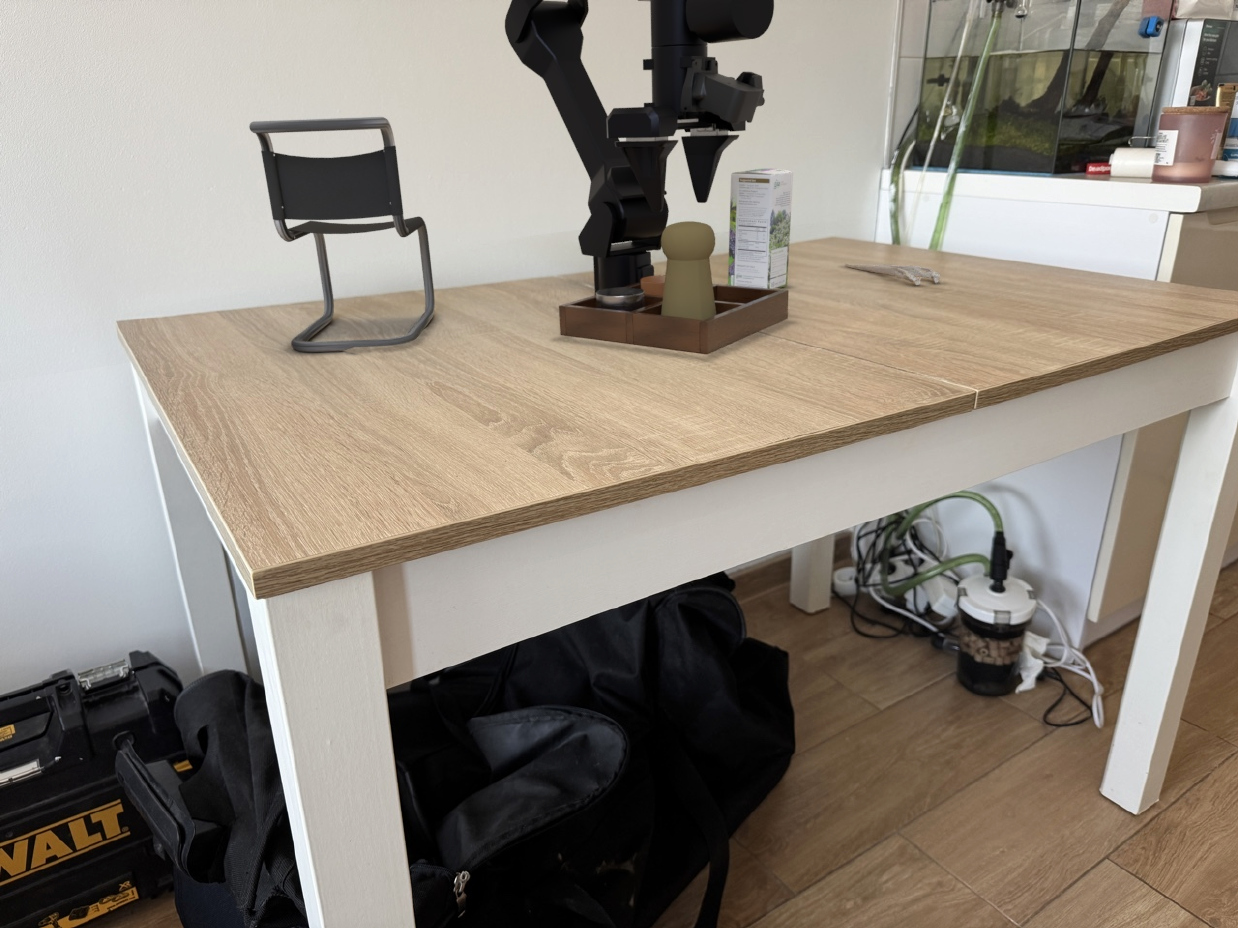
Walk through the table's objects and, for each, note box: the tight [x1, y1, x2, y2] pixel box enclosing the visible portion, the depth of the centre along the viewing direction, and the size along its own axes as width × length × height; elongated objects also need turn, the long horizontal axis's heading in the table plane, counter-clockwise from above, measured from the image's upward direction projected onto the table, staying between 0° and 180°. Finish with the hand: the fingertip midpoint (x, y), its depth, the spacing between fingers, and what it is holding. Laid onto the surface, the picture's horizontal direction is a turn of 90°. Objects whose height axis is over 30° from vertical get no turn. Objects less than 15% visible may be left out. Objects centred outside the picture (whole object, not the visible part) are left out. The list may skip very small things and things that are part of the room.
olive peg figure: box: [661, 220, 716, 320], centre depth 89 cm, size 6×6×11 cm
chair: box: [248, 116, 436, 353], centre depth 96 cm, size 13×17×22 cm
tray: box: [558, 282, 790, 355], centre depth 95 cm, size 17×17×4 cm
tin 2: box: [641, 274, 666, 296], centre depth 101 cm, size 5×5×4 cm
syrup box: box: [727, 167, 794, 289], centre depth 114 cm, size 6×6×14 cm
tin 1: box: [596, 287, 645, 312], centre depth 94 cm, size 5×5×4 cm
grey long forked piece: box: [844, 263, 941, 286], centre depth 123 cm, size 17×5×2 cm, turn 22°
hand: (680, 206), depth 98 cm, fingers open, 9 cm apart
